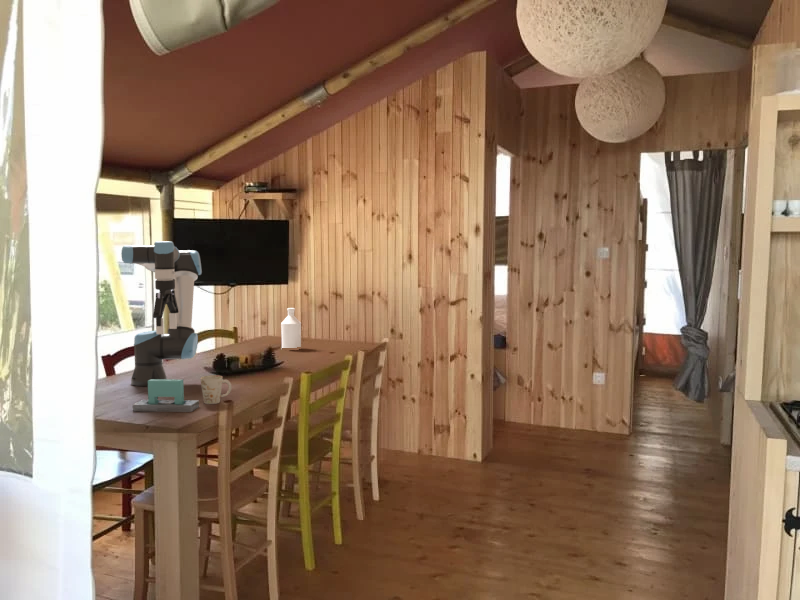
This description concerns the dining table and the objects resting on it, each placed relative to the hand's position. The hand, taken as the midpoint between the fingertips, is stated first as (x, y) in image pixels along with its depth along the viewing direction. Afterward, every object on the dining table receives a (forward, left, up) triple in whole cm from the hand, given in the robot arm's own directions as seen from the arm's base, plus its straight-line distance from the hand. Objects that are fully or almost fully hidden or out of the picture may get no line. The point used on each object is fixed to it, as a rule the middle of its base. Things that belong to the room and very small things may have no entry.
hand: (166, 331), depth 265 cm
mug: (+23, -10, -27) cm, 37 cm away
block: (+8, -23, -27) cm, 36 cm away
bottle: (+24, +126, -27) cm, 131 cm away
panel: (+8, -23, -27) cm, 36 cm away
